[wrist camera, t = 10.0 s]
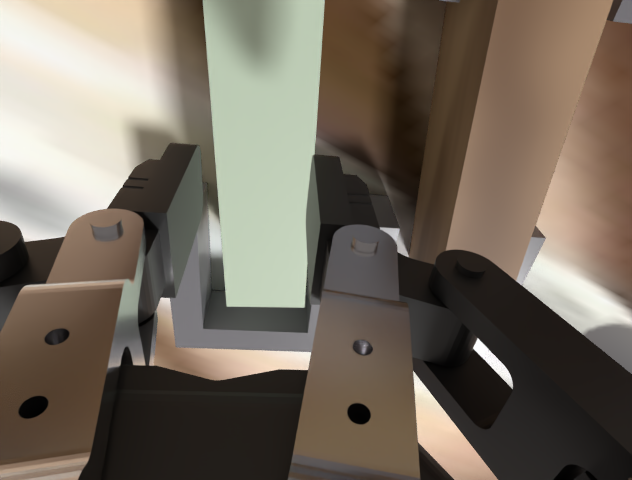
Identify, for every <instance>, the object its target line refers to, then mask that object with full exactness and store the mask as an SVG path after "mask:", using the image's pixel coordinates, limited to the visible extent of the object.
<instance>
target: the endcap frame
mask: <svg viewBox="0 0 632 480" xmlns="http://www.w3.org/2000/svg"><path fill="white" fill-rule="evenodd" d="M441 1H449V2H457V3H459V2H460V0H441ZM607 20H610V21H615V22H623V23H631V24H632V0H613V2H612V5H611V8H610V11H609V14H608V17H607ZM202 185H203V211H202V217H201V221H200V224H199V227H198V230H197V233H196V237H195V240H194V243H193V246H192V249H191V252H190V255H189V258H188V261H187V265H186V268H185V271H184V274H183V277H182V280H181V283H180V286H179V289H178V293H177V296H176V298H170V302H171V310H172V319H173V327H174V335H175V344H176V347H183V348H212V349H241V350H270V351H299V352H312V346H313V341H314V335H315V330H316V325H317V319H318V314H319V308H320V305H311V304H310V302H309V282H308V284H307V292H306V295H305V308H294V307H227V305H226V292H225V291H214V290H212V284H211V261H210V237H209V214H208V190H207V183H203V182H202ZM369 197H370V198H371V201H372V205H373V208H374V211H375V214H376V217H377V221H378V224H379V227H380V230H382V231H384V232H386V233H387V234H389V235H390V236H391V237H392V238H393V239H394V240H395V242H397V238H398V234H399V230H400V228H399V225H398V222H397V219H396V217H395V214H394V211H393V209H392V206H391V203H390V201H389V198H388V196H382V195H370V196H369ZM545 239H546V238H545V236H544V235H543V234H542V233H541V232H540V231H539V229H538V228H537V227H536V226H535V228H534V231H533V234H532V237H531V240H530V242H529V245H528V248H527V251H526V254H525V257H524V260H523V263H522V266H521V268H520V271H519V274H518V277H517V280H516V281H517V282H518V283H519V284H520V285H522V284H523V282H524V280H525V278H526V276H527V274H528V272H529V271H530V269H531V267H532V265H533V263H534V261H535V259H536V257H537V255H538V253H539V251H540V249H541V247H542V245H543V243H544V241H545ZM473 349H474V350H475V351H476V352H477V353H478V354H479V355H480V356H481V357H482V358H486V356H487V354H488V352H489V349H488V348H487V347H486V346H485V345H484V344H483V343H482V342H481V341H480V340H479V339H477V341H476V343H475V346H474V348H473Z"/></svg>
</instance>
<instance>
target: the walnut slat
mask: <svg viewBox="0 0 632 480" xmlns="http://www.w3.org/2000/svg"><path fill="white" fill-rule="evenodd" d="M612 2H613V0H460V2H459V3H457V2H449V1H447V3H446V10H445V16H444V23H443V30H442V36H441V43H440V50H439V57H438V63H437V70H436V77H435V84H434V90H433V97H432V104H431V110H430V117H429V124H428V131H427V137H426V144H425V151H424V158H423V164H422V171H421V178H420V184H419V191H418V198H417V205H416V211H415V218H414V225H413V232H412V238H411V245H410V252H409V257H410V258H412V259H415V260H419V261H423V262H426V263H430V264H434V263H435V260H436V258H437V256H438V255H439V254H440V253H442V252H444V251H447V250H455V249H457V250H466V251H470V252H474V253H476V254H479V255H481V256H483V257H485V258H487V259H489V260H490V261H492V262H493V263H494V264H496V265H497V266H498V267H499V268H501V269H502V270H503V271H504V272H506V273H507V274H508V275H509V276H510V277H512V278H513V279H514V280H515V281H516V280H517V277H518V274H519V271H520V268H521V266H522V263H523V260H524V257H525V254H526V251H527V248H528V245H529V242H530V240H531V237H532V234H533V231H534V228H535V225H536V222H537V219H538V216H539V214H540V211H541V208H542V205H543V202H544V199H545V196H546V193H547V190H548V188H549V185H550V182H551V179H552V176H553V173H554V170H555V167H556V164H557V161H558V159H559V156H560V153H561V150H562V147H563V144H564V141H565V138H566V135H567V133H568V130H569V127H570V124H571V121H572V118H573V115H574V112H575V109H576V107H577V104H578V101H579V98H580V95H581V92H582V89H583V86H584V83H585V80H586V78H587V75H588V72H589V69H590V66H591V63H592V60H593V57H594V54H595V52H596V49H597V46H598V43H599V40H600V37H601V34H602V31H603V28H604V26H605V23H606V20H607V17H608V14H609V11H610V8H611V5H612Z"/></svg>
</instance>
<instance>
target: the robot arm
mask: <svg viewBox="0 0 632 480" xmlns="http://www.w3.org/2000/svg"><path fill="white" fill-rule="evenodd" d="M369 196H370V195H369V191H368V188H367V185H366V184H365V183H364V182H363V181H362V180H361V179H360V178H359V177H358V176H357V175H345V174H343V172H342V167H341V163H340V158H339V157H336V156H324V155H313V156H312V162H311V170H310V179H309V189H308V198H307V207H306V242H307V262H308V282H309V302H310V304H311V305H320V308H319V314H318V319H317V325H316V330H315V335H314V341H313V346H312V352H311V357H310V363H309V368H308V370H280V369H279V370H274V371H269V372H264V373H258V374H253V375H248V376H242V377H237V378H232V379H227V380H220V381H214V380H209V379H205V378H201V377H198V376H194V375H190V374H186V373H182V372H178V371H174V370H171V369H167V368H163V367H159V366H154V355H155V344H156V333H157V322H158V317H157V310H156V309H157V306H158V304H159V301H160V298H161V297H164V298H176V296H177V293H178V289H179V286H180V283H181V280H182V277H183V274H184V271H185V268H186V265H187V261H188V258H189V255H190V252H191V249H192V246H193V243H194V240H195V237H196V233H197V230H198V227H199V224H200V221H201V217H202V211H203V185H202V165H201V151H200V147H199V145H190V144H177V143H170V144H169V146H168V147H167V149H166V151H165V152H164V154H163V156H162V157H161V159H160V160H152V159H149V160H147V161H145V162H144V163H142V164H140V165H138V166H137V167H135V168H134V170H133V171H132V173H131V174H130V176H129V177H128V179H127V180H126V182H125V183H124V185H123V188H121V189H120V190H119V192H118V193H117V195H116V196H115V198H114V199H113V201H112V202H111V204H110V205H109V207H108V208H107V209H103V210H97V211H93V212H90V213H87V214H85V215H83V216H81V217H79V218H77V219H76V220H75V221H74V222H73V223H72V224H71V225H70V227H69V229H68V231H67V233H66V236H65V237H61V238H54V239H46V240H38V241H30V242H24V239H23V236H22V233H21V231H20V229H19V228H18V227H17V226H16V225H14V224H12V223H9V222H5V221H0V480H454V479H453V478H452V477H451V476H450V475H449V474H448V473H447V472H446V471H445V470H444V469H443V468H442V467H441V466H440V465H439V464H438V462H437V461H436V460H435V459H434V458H433V457H432V456H431V455H430V454H429V453H428V452H427V451H426V450H425V449H424V448H423V447H422V446H421V445H420V444H419V443H418V438H417V423H416V408H415V393H414V378H413V371H414V372H415V373H416V375H417V376H418V377H419V379H420V380H421V381H422V382H423V384H424V385H425V386H426V388H427V389H428V390H429V391H430V393H431V394H432V395H433V396H434V398H435V399H436V400H437V402H438V403H439V404H440V405H441V407H442V408H443V409H444V411H445V412H446V413H447V414H448V416H449V417H450V418H451V420H452V421H453V422H454V423H455V425H456V426H457V427H458V429H459V430H460V431H461V432H462V434H463V435H464V436H465V438H466V439H467V440H468V441H469V443H470V444H471V445H472V447H473V448H474V449H475V450H476V452H477V453H478V454H479V456H480V457H481V458H482V459H483V461H484V462H485V463H486V465H487V466H488V467H489V468H490V470H491V471H492V472H493V474H494V475H495V476H496V477H497V479H498V480H632V374H631V373H630V372H628V371H627V370H625V369H624V368H623V367H622V366H621V365H620V364H618V363H617V362H616V361H615V360H613V359H612V358H611V357H610V356H608V355H607V354H606V353H605V352H603V351H602V350H601V349H600V348H598V347H597V346H596V345H594V343H592V342H591V341H590V340H589V339H587V338H586V337H585V336H584V335H582V334H581V333H580V332H579V331H577V330H576V329H575V328H574V327H572V326H571V325H570V324H569V323H568V322H566V321H565V320H564V319H563V318H561V317H560V316H559V315H558V314H556V313H555V312H554V311H553V310H551V309H550V308H549V307H548V306H546V305H545V304H544V303H543V302H541V301H540V300H539V299H538V298H537V297H535V296H534V295H533V294H532V293H530V292H529V291H528V290H527V289H525V288H524V287H523V286H522V285H520V284H519V283H518V282H517V281H515V280H514V279H513V278H512V277H510V276H509V275H508V274H507V273H506V272H504V271H503V270H502V269H501V268H499V267H498V266H497V265H496V264H494V263H493V262H492V261H490V260H489V259H487V258H485V257H483V256H481V255H479V254H476V253H474V252H470V251H466V250H457V249H455V250H447V251H444V252H442V253H440V254H439V255H438V256H437V258H436V260H435V263H434V264H430V263H426V262H423V261H419V260H415V259H412V258H409V257H406V256H404V255H402V254H400V253H398V252H397V244H396V242H395V240H394V239H393V238H392V237H391V236H390V235H389V234H387V233H386V232H384V231H382V230H380V227H379V224H378V221H377V217H376V214H375V211H374V208H373V205H372V201H371V198H370V197H369ZM477 339H479V340H480V341H481V342H482V343H483V344H484V345H485V346H486V347H487V348H488V349H489V350H490V351H491V352H492V353H493V354H494V355H495V356H496V357H497V358H498V359H499V360H500V361H501V362H502V363H503V364H504V365H505V367H506V368H507V369H508V371H509V373H510V375H511V377H512V381H513V389H512V388H511V387H510V386H509V385H508V384H507V383H506V382H505V381H504V380H503V379H502V378H501V377H500V376H499V375H498V374H497V373H496V372H495V371H494V370H493V369H492V367H491V366H490V365H489V364H488V363H487V362H486V361H485V360H484V359H483V358H482V357H481V356H480V355H479V354H478V353H477V352H476V351H475V350H474V349H473V348H474V346H475V343H476V341H477Z"/></svg>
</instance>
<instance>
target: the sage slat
mask: <svg viewBox="0 0 632 480" xmlns="http://www.w3.org/2000/svg"><path fill="white" fill-rule="evenodd" d="M324 3H325V0H203V10H204V23H205V36H206V48H207V61H208V74H209V87H210V100H211V113H212V125H213V138H214V151H215V164H216V177H217V189H218V202H219V215H220V228H221V241H222V254H223V266H224V279H225V292H226V305H227V307H294V308H305V293H306V278H307V263H308V262H307V242H306V207H307V198H308V189H309V179H310V170H311V162H312V156H313V155H315V140H316V125H317V110H318V94H319V79H320V64H321V48H322V33H323V18H324Z"/></svg>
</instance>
